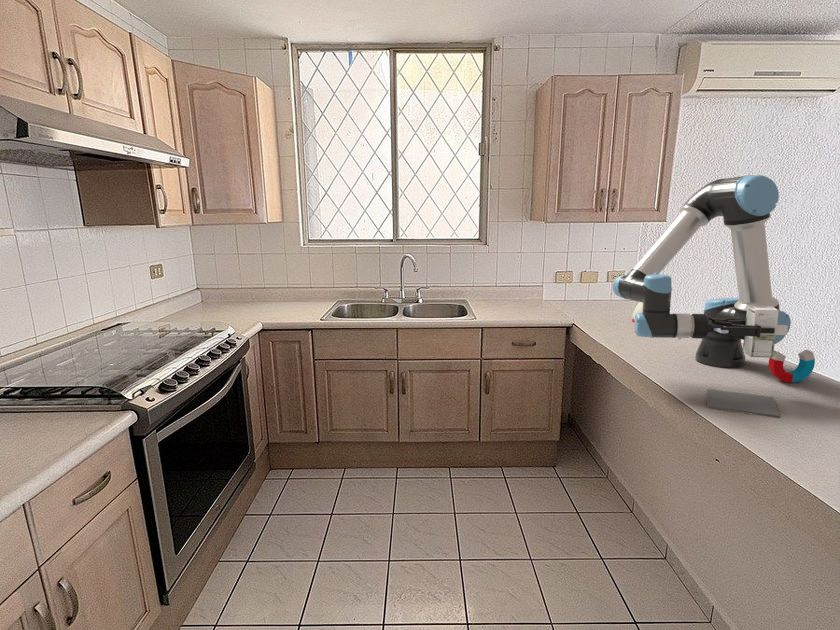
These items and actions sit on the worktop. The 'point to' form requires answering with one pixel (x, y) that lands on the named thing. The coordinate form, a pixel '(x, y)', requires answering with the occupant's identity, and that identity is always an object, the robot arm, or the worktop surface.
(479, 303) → the worktop surface
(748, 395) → the rubber mat
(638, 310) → the cream beanie hat
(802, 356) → the magnet
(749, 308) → the syrup box
